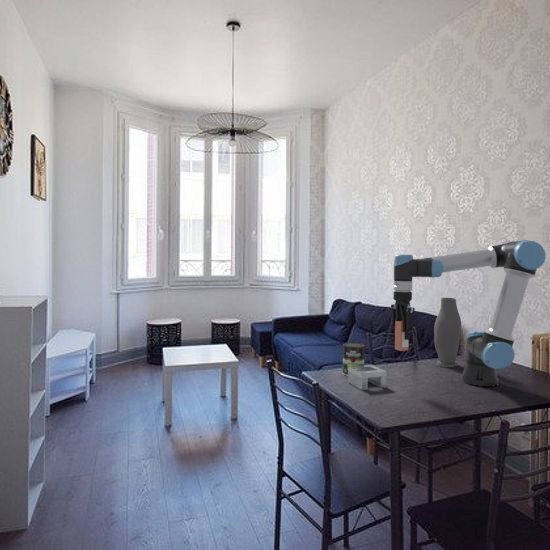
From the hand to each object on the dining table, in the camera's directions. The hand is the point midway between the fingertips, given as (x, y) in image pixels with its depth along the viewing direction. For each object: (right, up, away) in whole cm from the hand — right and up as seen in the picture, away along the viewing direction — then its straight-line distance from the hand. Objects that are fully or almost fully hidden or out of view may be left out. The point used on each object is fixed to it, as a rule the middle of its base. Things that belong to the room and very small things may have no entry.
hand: (401, 345), depth 187 cm
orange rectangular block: (0, -2, 0) cm, 2 cm away
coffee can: (-16, -17, +23) cm, 33 cm away
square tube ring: (-14, -18, +6) cm, 23 cm away
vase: (+35, -17, +41) cm, 57 cm away
